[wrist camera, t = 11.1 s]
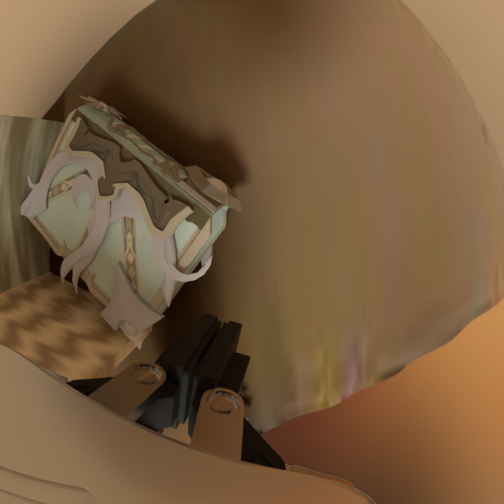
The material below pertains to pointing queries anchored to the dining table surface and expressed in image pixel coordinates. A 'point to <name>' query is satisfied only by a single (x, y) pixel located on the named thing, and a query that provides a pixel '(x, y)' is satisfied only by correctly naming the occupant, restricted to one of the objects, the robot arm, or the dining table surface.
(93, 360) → the wooden corner bracket
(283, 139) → the dining table surface
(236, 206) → the ornate book
